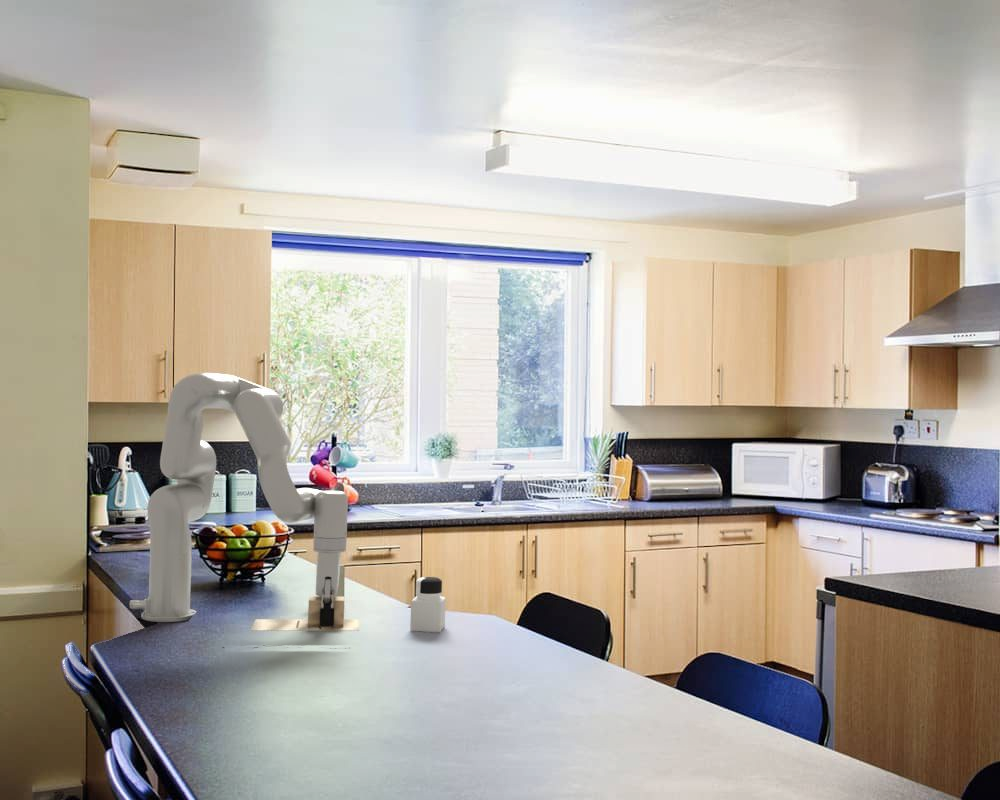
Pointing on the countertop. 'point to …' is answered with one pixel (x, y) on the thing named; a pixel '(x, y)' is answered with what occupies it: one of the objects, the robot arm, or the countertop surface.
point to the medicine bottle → (428, 606)
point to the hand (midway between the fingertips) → (327, 622)
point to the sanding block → (315, 611)
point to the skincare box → (340, 583)
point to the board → (299, 625)
